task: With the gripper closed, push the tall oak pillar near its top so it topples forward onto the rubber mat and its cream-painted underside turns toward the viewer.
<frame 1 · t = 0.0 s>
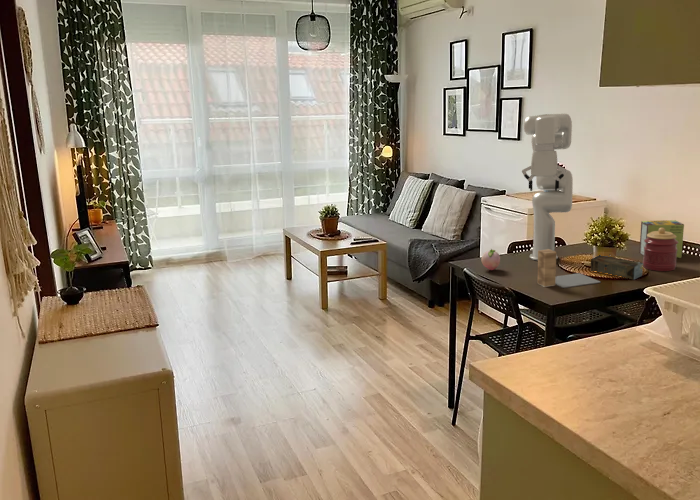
hand: (543, 190, 240), 37 cm above the table, tool pointing down, fingers open, 9 cm apart
decorative fruit: (490, 270, 264), on the table
protein box: (659, 255, 274), on the table
canister: (659, 268, 254), on the table
rubber mat: (571, 280, 243), on the table
oak pillar: (546, 284, 240), on the table
beverage carton: (615, 274, 249), on the table
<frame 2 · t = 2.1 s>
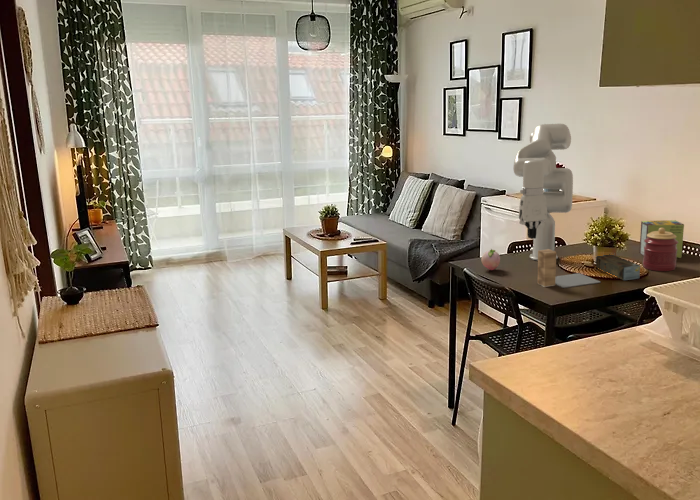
hand: (531, 237, 233), 20 cm above the table, tool pointing down, fingers closed
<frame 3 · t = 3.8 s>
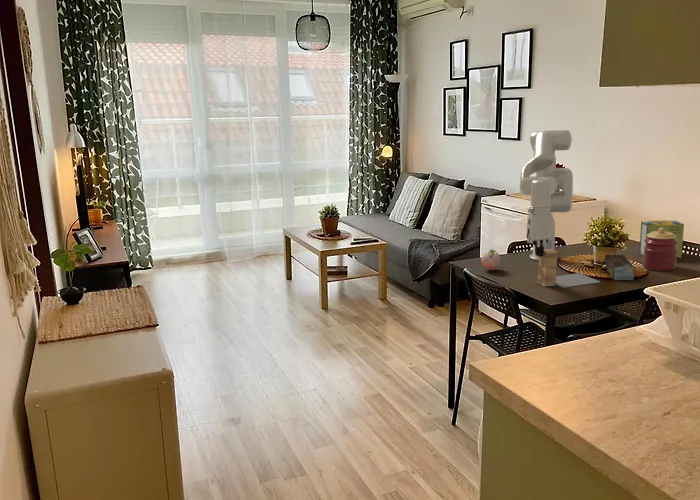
hand: (539, 255, 236), 13 cm above the table, tool pointing down, fingers closed
oak pillar: (546, 284, 240), on the table, touching gripper
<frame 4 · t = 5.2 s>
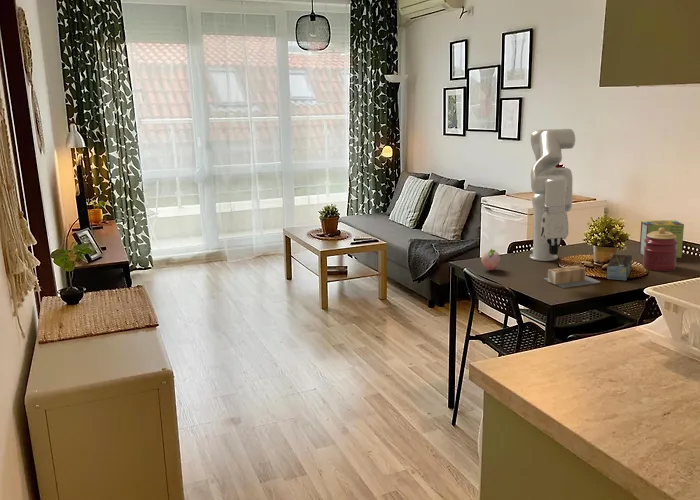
hand: (553, 254, 238), 12 cm above the table, tool pointing down, fingers closed
oak pillar: (551, 276, 240), point 3 cm above the table, tilted 90°, touching rubber mat
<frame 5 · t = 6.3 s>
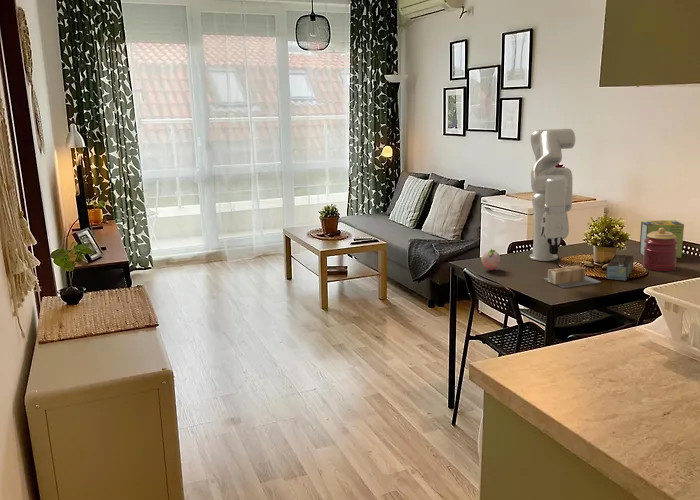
hand: (553, 253, 238), 13 cm above the table, tool pointing down, fingers closed
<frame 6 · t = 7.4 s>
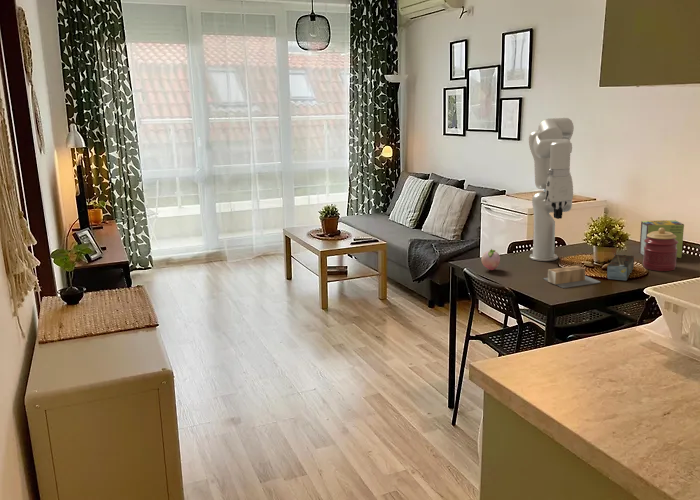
hand: (557, 218, 238), 26 cm above the table, tool pointing down, fingers closed
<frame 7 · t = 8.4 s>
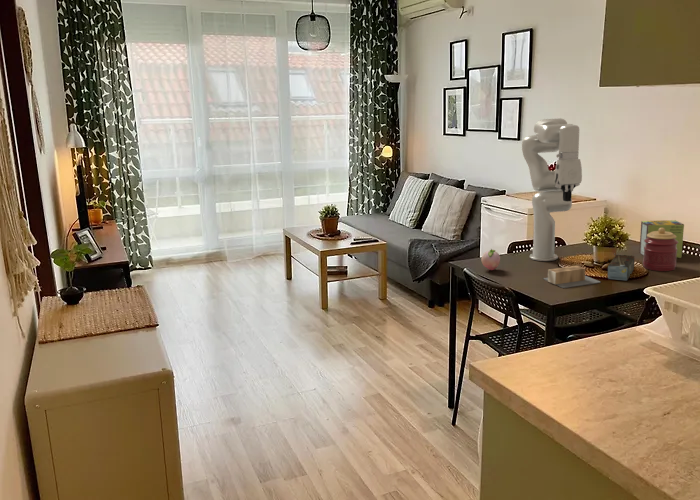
hand: (566, 200, 243), 32 cm above the table, tool pointing down, fingers closed
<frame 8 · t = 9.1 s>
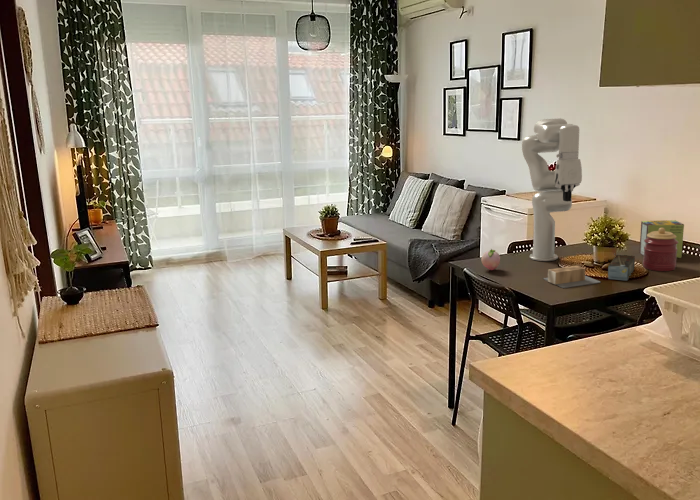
hand: (567, 200, 243), 32 cm above the table, tool pointing down, fingers closed
at the end: oak pillar tilted 90°; oak pillar inside the target area (1.2 cm from its centre), point 2.9 cm above the table; oak pillar touching rubber mat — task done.
